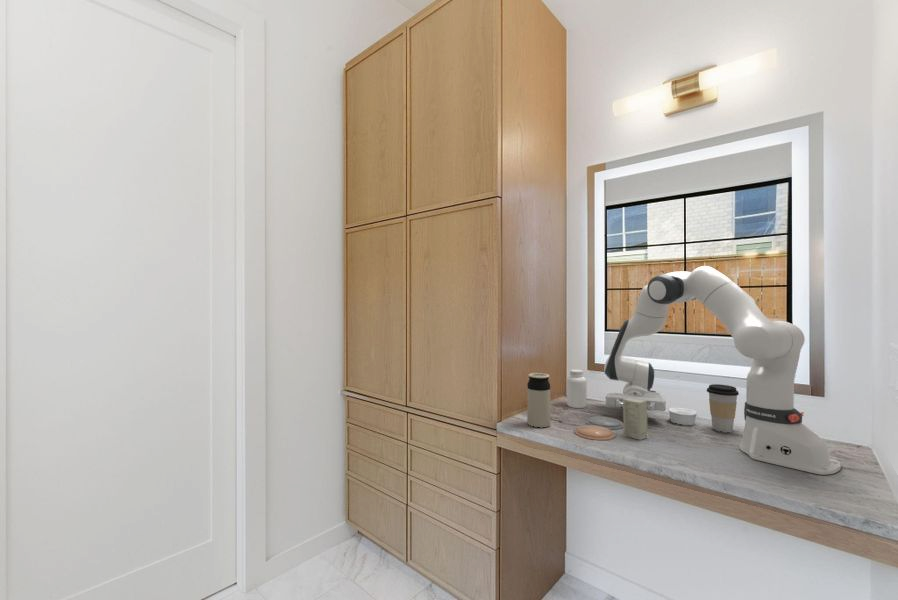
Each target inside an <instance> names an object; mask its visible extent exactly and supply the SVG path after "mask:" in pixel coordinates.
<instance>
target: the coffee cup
mask: <svg viewBox="0 0 898 600" xmlns="http://www.w3.org/2000/svg"><path fill="white" fill-rule="evenodd" d="M705 391H706V392H707V393H708V398H709V399H708V401H709V412H710V416H711V426H712V429H713V430H714V429H715V430H714V431H716V430H718V431H717V432H720V431H722V432H721V433H727V432H730V433H732V432H733V430H734V421H735V418H736V410H737V400H738V396H739V394H740V393H739V391H738V390H737V387H735V386H732V385H728V384H716V383H715V384H713V383H712V384H709V385H708V387H707V388H706V390H705Z"/></svg>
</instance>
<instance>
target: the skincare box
mask: <svg viewBox="0 0 898 600" xmlns="http://www.w3.org/2000/svg"><path fill="white" fill-rule="evenodd" d="M622 409H623V411H622V412H623V415H622V417H623V418H622V419H623V420H622V421H623V423H624V427H623V436H625V437H629V438H633V439H636V440H639V441H641V440H644V439H646V438H648V410H647V401H645V400H640V399H635V398H626V399H623V408H622Z"/></svg>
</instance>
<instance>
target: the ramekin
mask: <svg viewBox="0 0 898 600" xmlns="http://www.w3.org/2000/svg"><path fill="white" fill-rule="evenodd" d="M668 412H669V420H670V422H671V423H673V424H675V423H677V424H676V425H679V424H682V425H681V426H687V425H690V426H694V425H695V423H696V418H697V411H695V410H692V409H690V408H684V407H670V408H669V409H668ZM693 424H694V425H693Z"/></svg>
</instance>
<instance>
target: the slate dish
mask: <svg viewBox="0 0 898 600" xmlns="http://www.w3.org/2000/svg"><path fill="white" fill-rule="evenodd" d="M585 423H586V424H585V425H596V426H602V427H605V428H608V429H610V430H611V431H615V430H620V429H624V422H623V421H621V420H619V418H618V419H617V418H614V417H609V416H605V415H602V416H601V415H597V416H595V415H593V416H590V417H589V418H587V419H586V420H585Z"/></svg>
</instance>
